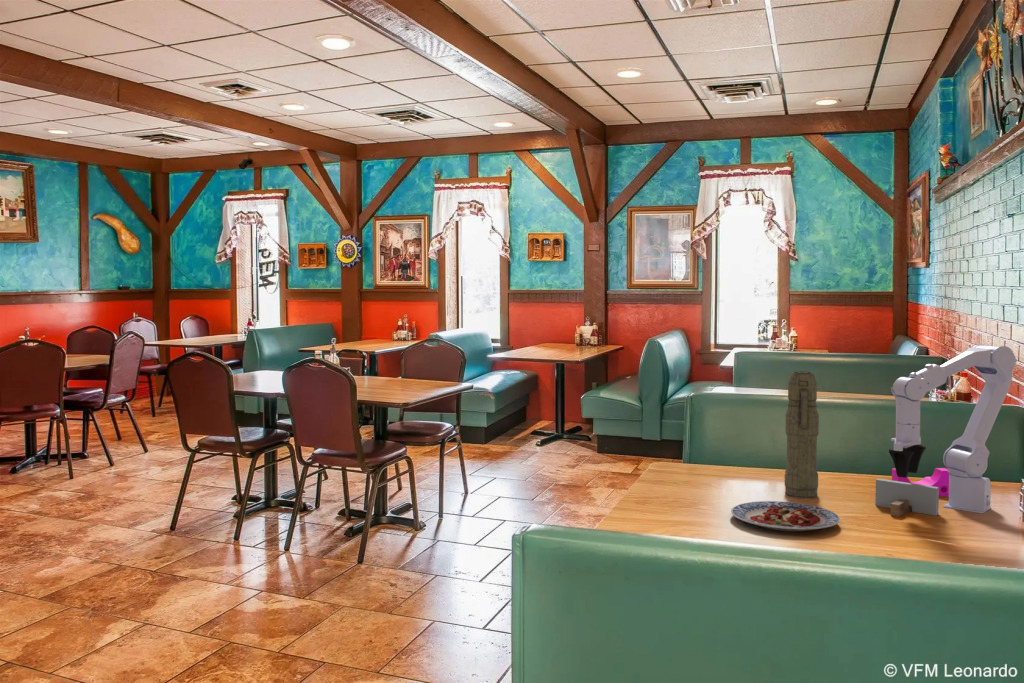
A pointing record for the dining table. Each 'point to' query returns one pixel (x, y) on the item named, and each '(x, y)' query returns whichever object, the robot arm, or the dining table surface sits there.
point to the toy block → (930, 480)
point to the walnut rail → (900, 507)
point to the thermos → (802, 436)
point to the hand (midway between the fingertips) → (907, 474)
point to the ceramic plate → (785, 515)
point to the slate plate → (908, 495)
